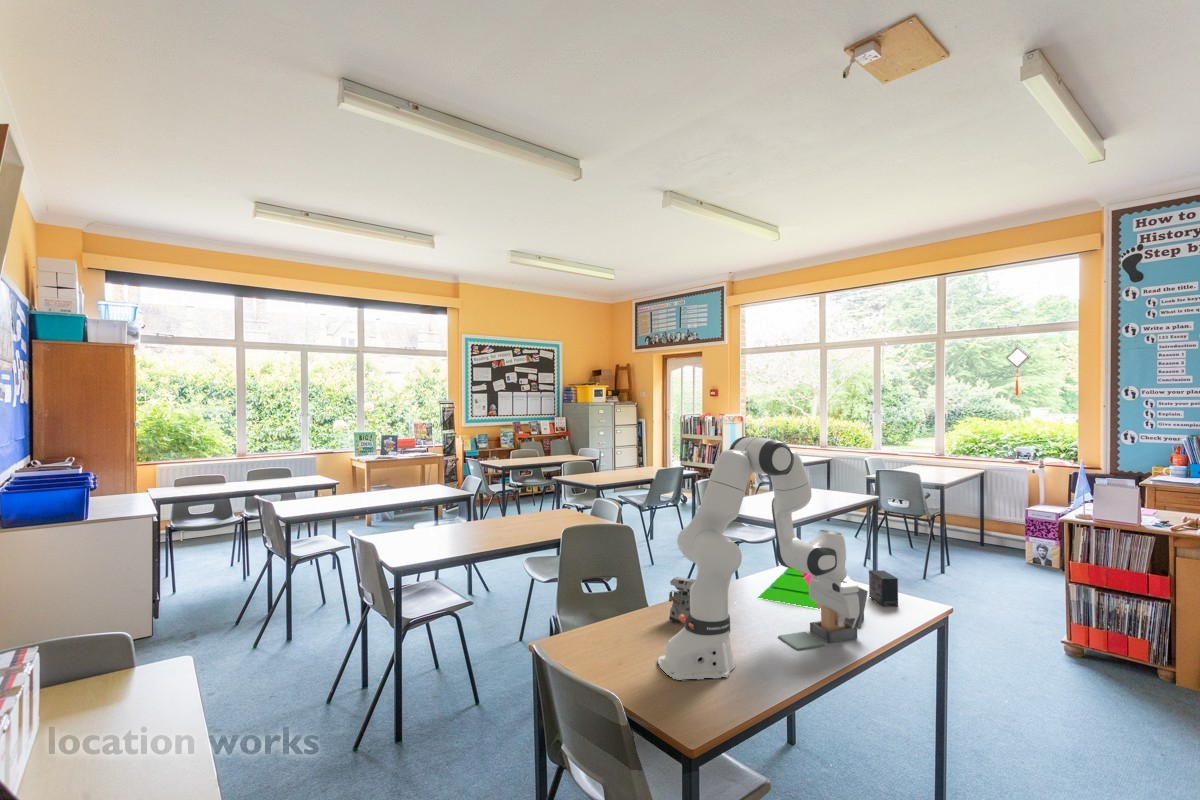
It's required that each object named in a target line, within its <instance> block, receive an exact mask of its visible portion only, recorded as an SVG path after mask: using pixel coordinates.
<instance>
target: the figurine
mask: <svg viewBox="0 0 1200 800" xmlns="http://www.w3.org/2000/svg"><path fill="white" fill-rule="evenodd" d="M695 580H696V579H692V578H687V577H682V576H681V577H679V576H676V577H674V578H672V579H671V580H670V586H674V588H675V589H676V590H671V591H669V595H668V597H669V598H668V602H671V603H672V604H671V607H670V611H669V617H668V620H670V621H671V620H672V621H673V623H675V622H676V623H677V624H679V623H681V621H680V620H679V615H680V614H683V615H684V616H686V618H687V617H688V615H689V613H690V587H691V585H692V584H693V583H694V582H695ZM676 623H675V624H676Z"/></svg>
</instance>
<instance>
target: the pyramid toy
mask: <svg viewBox="0 0 1200 800" xmlns="http://www.w3.org/2000/svg"><path fill="white" fill-rule="evenodd" d="M810 580H811V574H808V573H805V572H802V571H799V570H796V569H792V568H786V570H784V572H782V573H781V574H780V575H779V576H778V577H777V578H776V579H775V580H774V581H773V582H772V583H771V584H770V585H769V586H768V587H767V588H766V589H765V590H763V592H762V593H761V594H760V595H759V596H758V597H757V599H758V598H763V599H768V600H773V601H780V602H785V603H790V604H796V605H801V606H808V607H813V608H818V609H820V604H819V603H817V602H815V601H813V600H811V599H810V597H809V584H810ZM763 599H762V600H763ZM768 600H767V601H768ZM773 601H772V602H773Z"/></svg>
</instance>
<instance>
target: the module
mask: <svg viewBox="0 0 1200 800" xmlns="http://www.w3.org/2000/svg"><path fill="white" fill-rule="evenodd" d="M838 618H839V616H838V613H837V612H835V611H833V610H831V609H829V608H827V607H825V606H821V611H820V621H821V627H822V628H823V629H825V630H827V631H829V632H830V631H836V630H842V629H845V623H846V622H845V619H844V621H843V624H844V625H843V627H839V626H837V625H836V620H838Z"/></svg>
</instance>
